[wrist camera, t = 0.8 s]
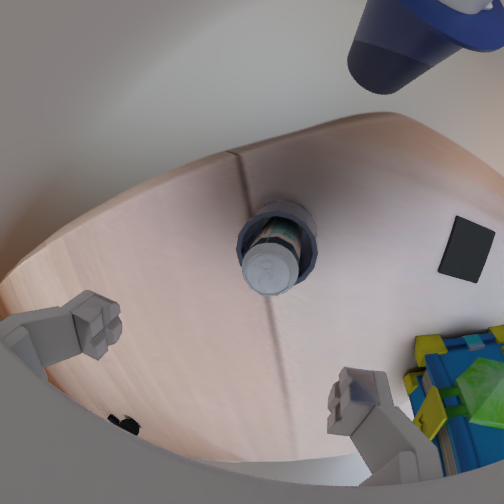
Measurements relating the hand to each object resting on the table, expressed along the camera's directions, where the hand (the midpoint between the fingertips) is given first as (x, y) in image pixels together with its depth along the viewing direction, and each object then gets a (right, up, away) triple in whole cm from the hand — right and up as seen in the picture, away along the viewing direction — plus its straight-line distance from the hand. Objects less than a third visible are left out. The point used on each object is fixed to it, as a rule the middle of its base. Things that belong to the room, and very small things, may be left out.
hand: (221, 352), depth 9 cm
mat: (+31, +4, +20) cm, 37 cm away
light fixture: (-38, -44, +53) cm, 79 cm away
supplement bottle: (+5, +6, +24) cm, 25 cm away
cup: (+5, +6, +24) cm, 26 cm away
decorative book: (+37, -14, +25) cm, 46 cm away
